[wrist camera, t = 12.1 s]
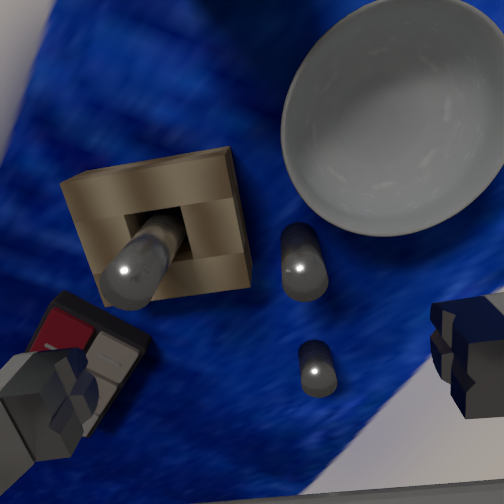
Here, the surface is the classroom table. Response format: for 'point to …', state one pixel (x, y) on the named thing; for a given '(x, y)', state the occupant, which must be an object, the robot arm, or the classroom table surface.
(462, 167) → the cereal bowl
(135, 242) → the long pin
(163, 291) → the block
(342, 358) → the classroom table surface
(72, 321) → the calculator
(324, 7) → the classroom table surface
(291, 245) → the medium pin
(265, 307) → the classroom table surface
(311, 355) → the short pin
